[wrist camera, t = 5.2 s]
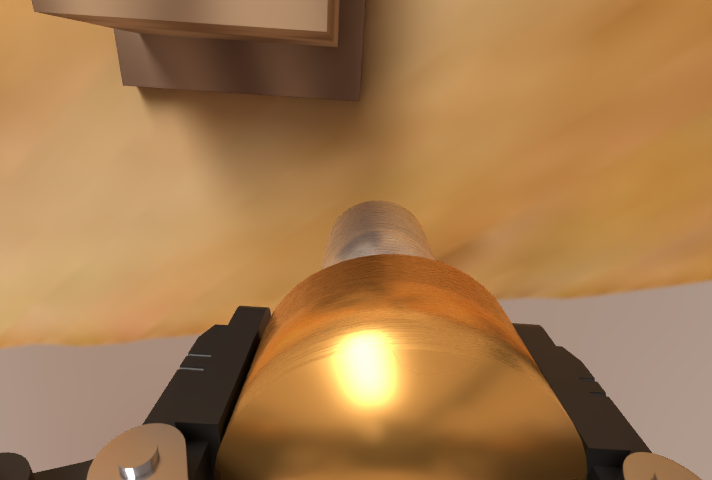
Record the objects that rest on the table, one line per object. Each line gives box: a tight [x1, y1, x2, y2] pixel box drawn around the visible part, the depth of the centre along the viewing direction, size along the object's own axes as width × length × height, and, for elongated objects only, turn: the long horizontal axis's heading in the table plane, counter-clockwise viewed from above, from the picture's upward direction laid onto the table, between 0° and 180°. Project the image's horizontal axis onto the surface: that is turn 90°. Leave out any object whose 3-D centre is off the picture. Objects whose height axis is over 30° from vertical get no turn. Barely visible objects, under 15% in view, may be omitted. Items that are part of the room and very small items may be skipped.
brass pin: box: [214, 201, 587, 480], centre depth 11 cm, size 6×6×10 cm
